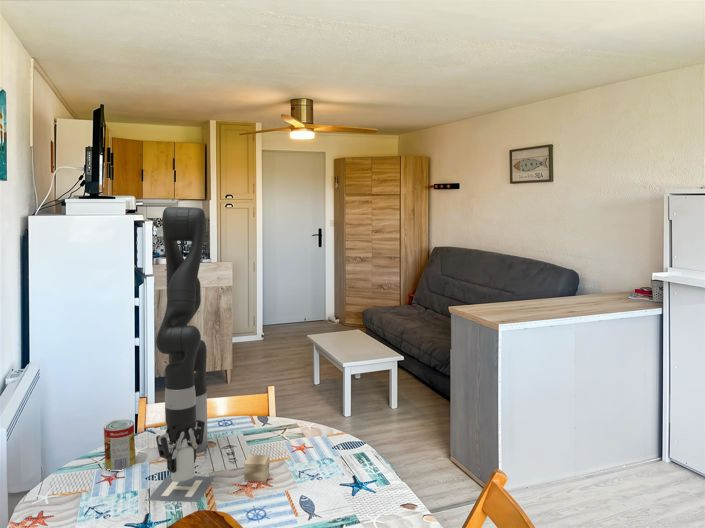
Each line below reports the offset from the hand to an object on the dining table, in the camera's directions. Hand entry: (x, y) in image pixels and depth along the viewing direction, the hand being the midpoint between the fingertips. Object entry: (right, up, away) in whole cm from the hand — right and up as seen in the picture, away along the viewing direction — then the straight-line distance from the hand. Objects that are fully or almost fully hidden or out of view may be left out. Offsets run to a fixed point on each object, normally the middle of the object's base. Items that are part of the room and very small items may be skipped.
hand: (182, 466), depth 140 cm
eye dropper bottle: (0, -3, 0) cm, 3 cm away
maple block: (+18, -6, +7) cm, 20 cm away
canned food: (-22, -5, +14) cm, 27 cm away
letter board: (0, -6, +1) cm, 6 cm away
